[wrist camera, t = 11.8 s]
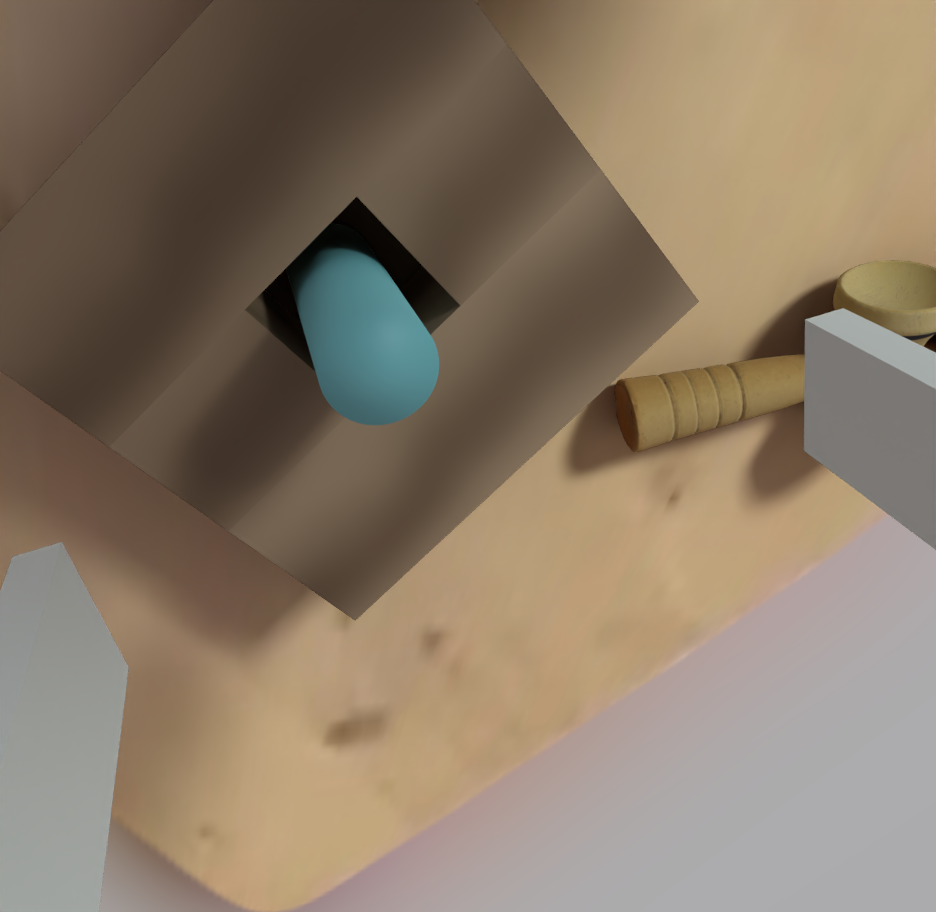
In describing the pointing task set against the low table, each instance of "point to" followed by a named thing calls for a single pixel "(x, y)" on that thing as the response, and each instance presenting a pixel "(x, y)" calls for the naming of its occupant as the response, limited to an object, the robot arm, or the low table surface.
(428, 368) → the peg
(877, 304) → the kendama
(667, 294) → the hole block
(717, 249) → the low table surface
